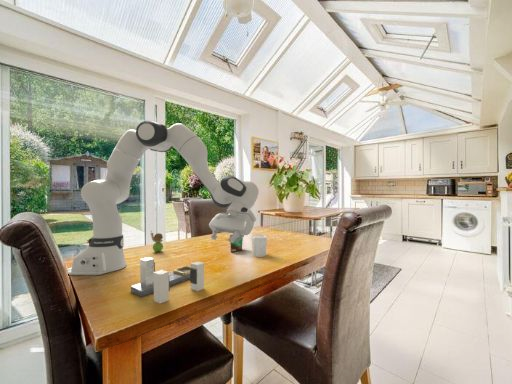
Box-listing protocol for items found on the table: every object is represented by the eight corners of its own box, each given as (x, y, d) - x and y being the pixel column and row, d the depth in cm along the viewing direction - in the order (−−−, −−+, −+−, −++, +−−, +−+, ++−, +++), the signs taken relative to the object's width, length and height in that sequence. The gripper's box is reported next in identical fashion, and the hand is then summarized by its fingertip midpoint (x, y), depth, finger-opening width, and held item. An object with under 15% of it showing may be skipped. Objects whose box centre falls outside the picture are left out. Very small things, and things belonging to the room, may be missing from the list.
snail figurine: (151, 251, 137) (150, 229, 137) (163, 250, 139) (163, 229, 139) (150, 253, 132) (150, 231, 132) (163, 252, 134) (163, 230, 134)
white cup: (258, 252, 133) (258, 234, 133) (270, 255, 128) (270, 236, 128) (249, 255, 127) (248, 236, 127) (260, 258, 122) (260, 238, 122)
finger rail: (141, 297, 79) (141, 263, 79) (130, 291, 83) (130, 259, 83) (202, 274, 100) (202, 247, 100) (191, 270, 104) (191, 245, 104)
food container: (240, 253, 131) (240, 235, 131) (229, 253, 133) (229, 234, 132) (246, 248, 143) (246, 231, 143) (236, 247, 145) (236, 230, 145)
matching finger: (196, 291, 83) (196, 265, 83) (189, 289, 85) (189, 263, 85) (203, 288, 86) (203, 263, 86) (197, 286, 88) (197, 261, 88)
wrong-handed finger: (160, 303, 75) (160, 274, 74) (153, 300, 77) (153, 272, 76) (170, 299, 77) (170, 271, 77) (163, 296, 79) (163, 269, 79)
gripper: (215, 207, 108) (199, 232, 100) (253, 209, 96) (237, 238, 88) (222, 216, 111) (207, 241, 103) (259, 219, 99) (245, 248, 92)
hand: (221, 240), depth 96 cm, fingers open, 8 cm apart
